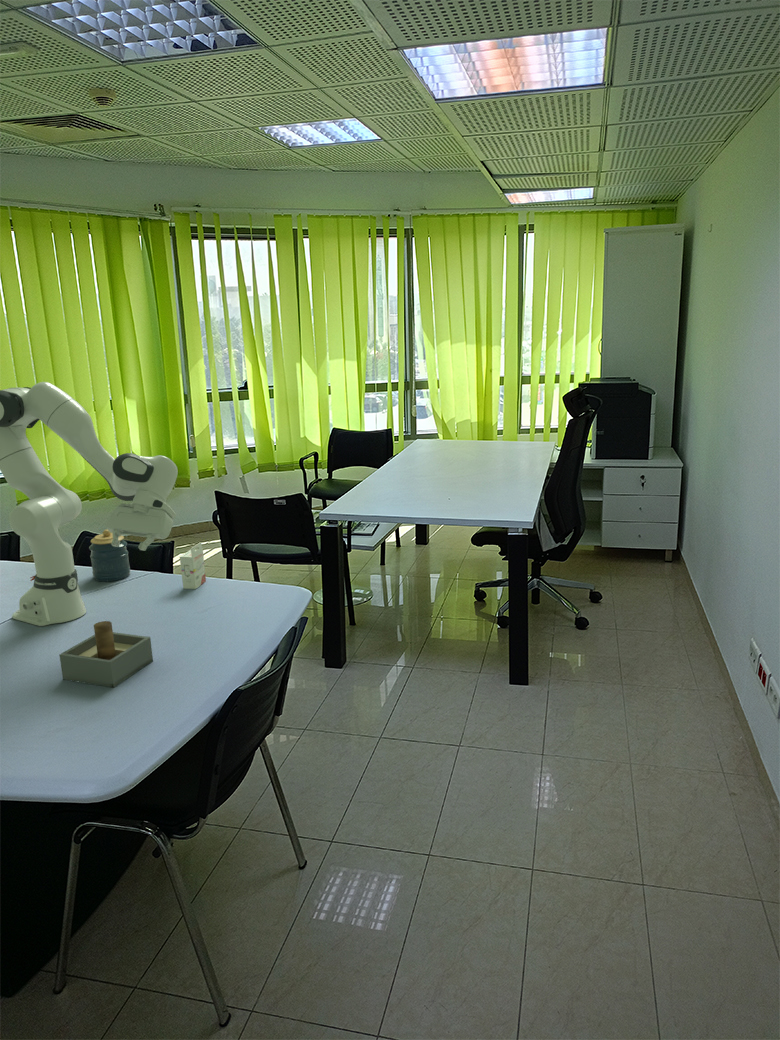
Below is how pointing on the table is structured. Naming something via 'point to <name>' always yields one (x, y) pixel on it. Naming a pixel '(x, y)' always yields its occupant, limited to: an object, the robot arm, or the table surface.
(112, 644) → the peg
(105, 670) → the bore box
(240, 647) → the table surface
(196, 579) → the ink cartridge box
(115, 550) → the canister
